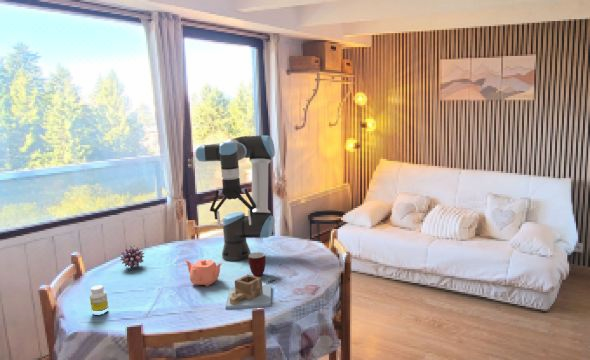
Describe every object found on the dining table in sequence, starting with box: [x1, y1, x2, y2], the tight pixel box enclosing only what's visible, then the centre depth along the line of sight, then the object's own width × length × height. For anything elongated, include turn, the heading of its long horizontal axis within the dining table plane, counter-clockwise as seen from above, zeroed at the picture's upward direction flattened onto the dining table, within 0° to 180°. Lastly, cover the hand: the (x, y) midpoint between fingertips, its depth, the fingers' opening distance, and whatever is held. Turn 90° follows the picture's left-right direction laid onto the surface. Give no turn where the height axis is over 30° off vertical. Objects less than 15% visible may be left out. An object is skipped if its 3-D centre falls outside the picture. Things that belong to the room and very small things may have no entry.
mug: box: [247, 251, 267, 278], centre depth 211 cm, size 11×8×10 cm
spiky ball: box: [120, 244, 145, 268], centre depth 231 cm, size 12×12×12 cm
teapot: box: [184, 259, 224, 287], centre depth 207 cm, size 14×14×11 cm
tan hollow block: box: [230, 273, 263, 305], centre depth 186 cm, size 14×8×7 cm, turn 142°
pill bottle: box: [89, 284, 109, 311], centre depth 182 cm, size 6×6×11 cm
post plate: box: [225, 284, 272, 310], centre depth 189 cm, size 18×18×6 cm
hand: (234, 225), depth 199 cm, fingers open, 13 cm apart
